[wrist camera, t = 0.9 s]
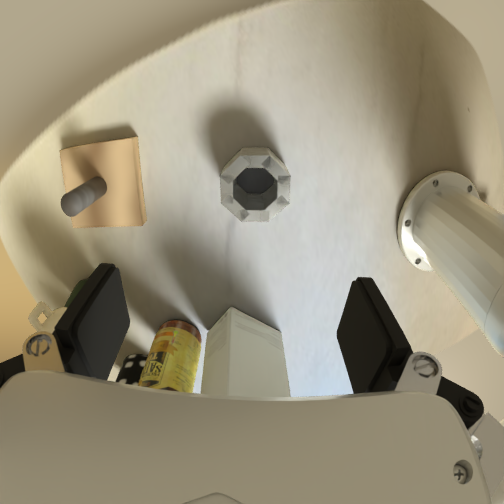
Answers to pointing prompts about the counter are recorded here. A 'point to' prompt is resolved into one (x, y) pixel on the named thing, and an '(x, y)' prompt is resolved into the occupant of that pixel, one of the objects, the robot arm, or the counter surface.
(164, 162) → the counter surface
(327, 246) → the counter surface
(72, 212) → the shaft stand
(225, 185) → the tube
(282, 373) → the skincare box
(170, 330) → the sauce bottle
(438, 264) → the robot arm
